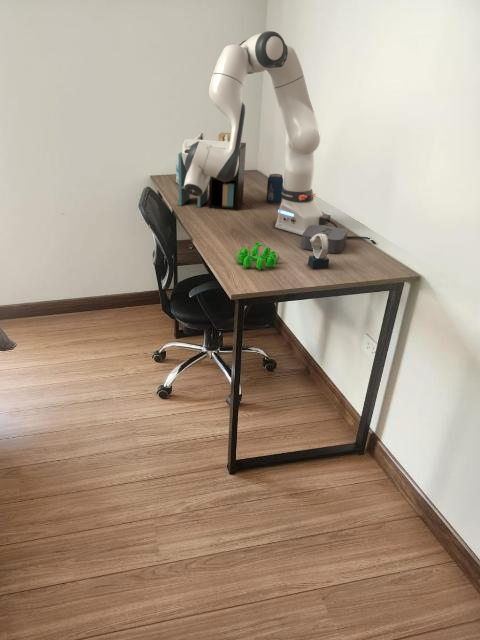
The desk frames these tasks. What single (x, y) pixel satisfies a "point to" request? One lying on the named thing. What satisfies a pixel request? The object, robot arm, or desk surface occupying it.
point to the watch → (319, 252)
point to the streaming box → (333, 234)
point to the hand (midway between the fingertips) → (213, 135)
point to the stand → (182, 193)
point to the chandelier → (257, 257)
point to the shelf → (229, 187)
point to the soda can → (274, 188)
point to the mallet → (222, 136)
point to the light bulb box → (177, 172)
